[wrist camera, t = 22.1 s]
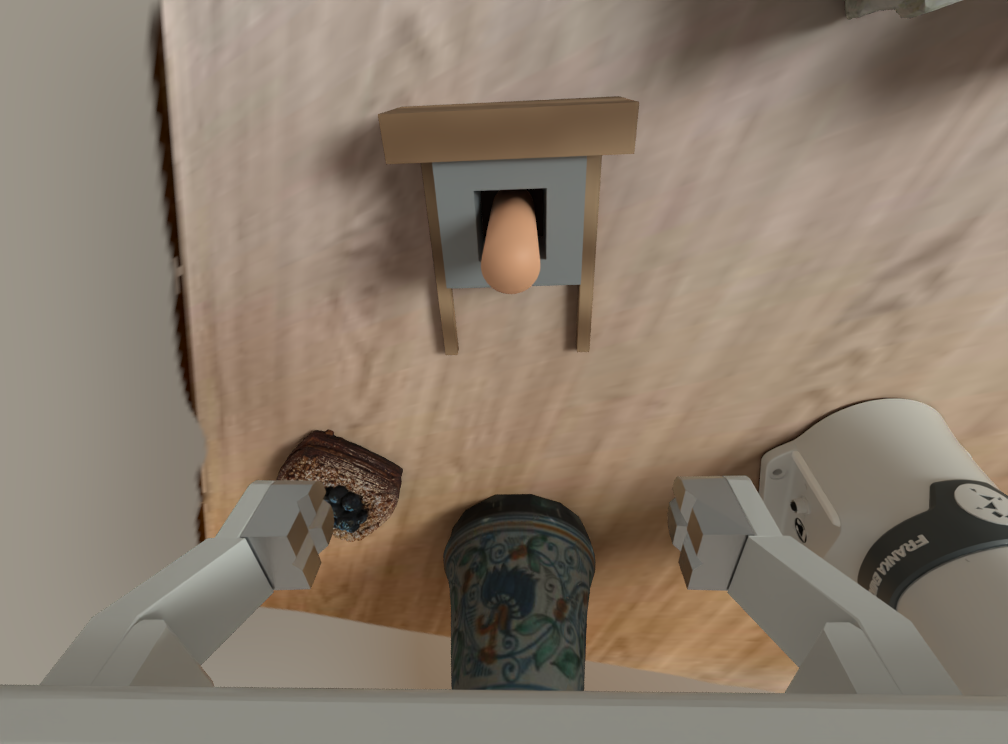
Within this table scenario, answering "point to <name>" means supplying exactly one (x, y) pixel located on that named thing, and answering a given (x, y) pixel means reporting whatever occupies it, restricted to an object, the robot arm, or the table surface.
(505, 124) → the rail frame
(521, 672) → the beer stein
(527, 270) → the dowel
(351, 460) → the pastry
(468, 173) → the block
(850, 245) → the table surface
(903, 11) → the incense holder
